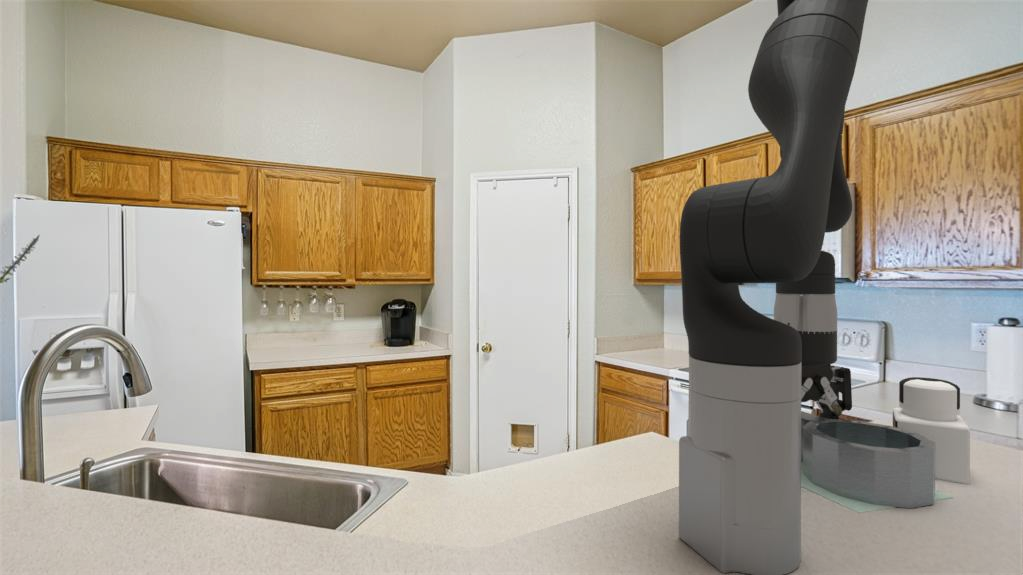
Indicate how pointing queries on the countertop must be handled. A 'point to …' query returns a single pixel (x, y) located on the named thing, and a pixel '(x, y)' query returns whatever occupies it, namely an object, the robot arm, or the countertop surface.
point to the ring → (868, 461)
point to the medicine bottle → (936, 423)
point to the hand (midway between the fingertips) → (804, 443)
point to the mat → (852, 503)
